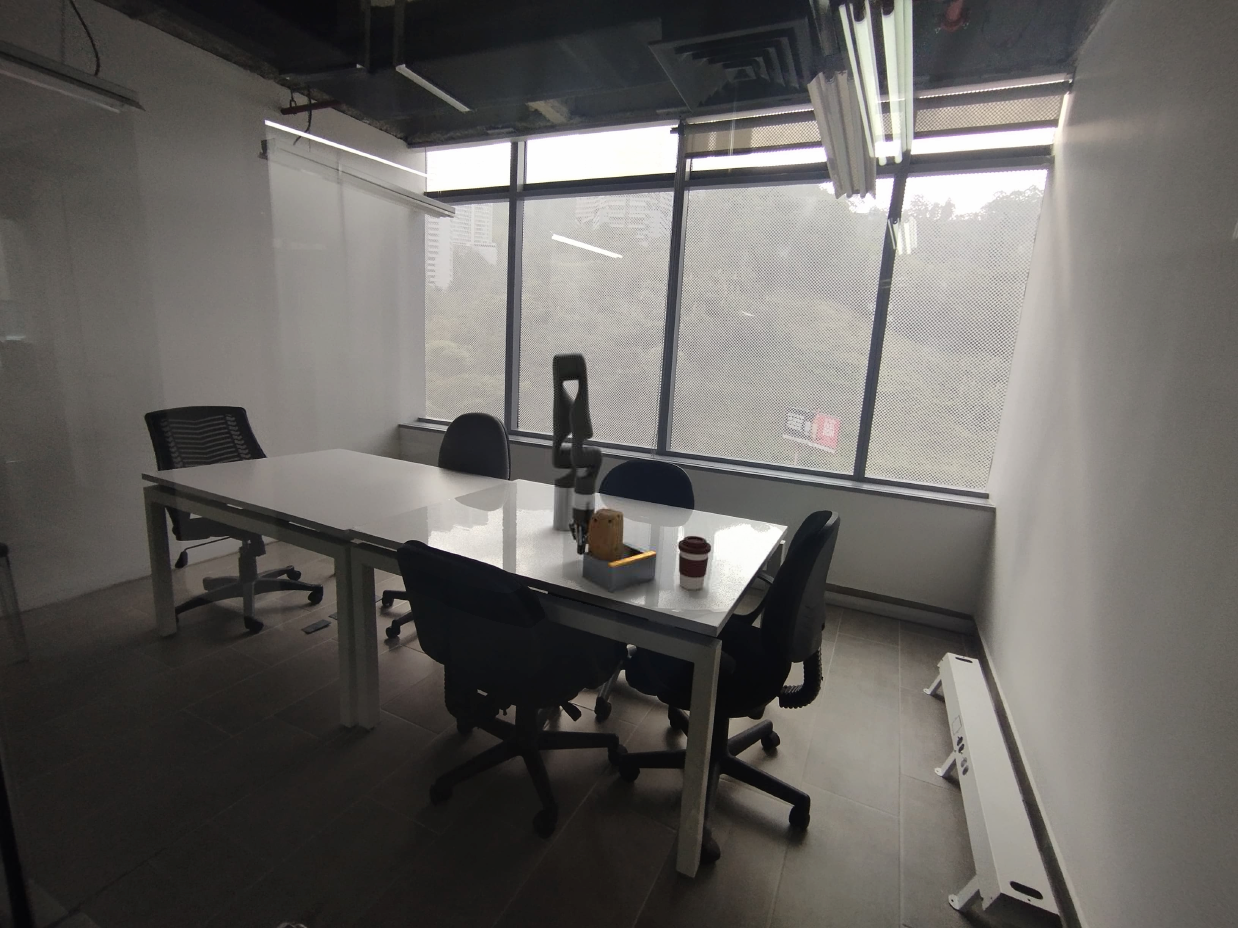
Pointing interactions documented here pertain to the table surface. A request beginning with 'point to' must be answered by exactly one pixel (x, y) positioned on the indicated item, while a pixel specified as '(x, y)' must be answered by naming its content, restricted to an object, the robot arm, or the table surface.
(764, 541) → the table surface
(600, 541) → the block
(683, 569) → the coffee cup
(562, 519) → the robot arm
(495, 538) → the table surface
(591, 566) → the dock
